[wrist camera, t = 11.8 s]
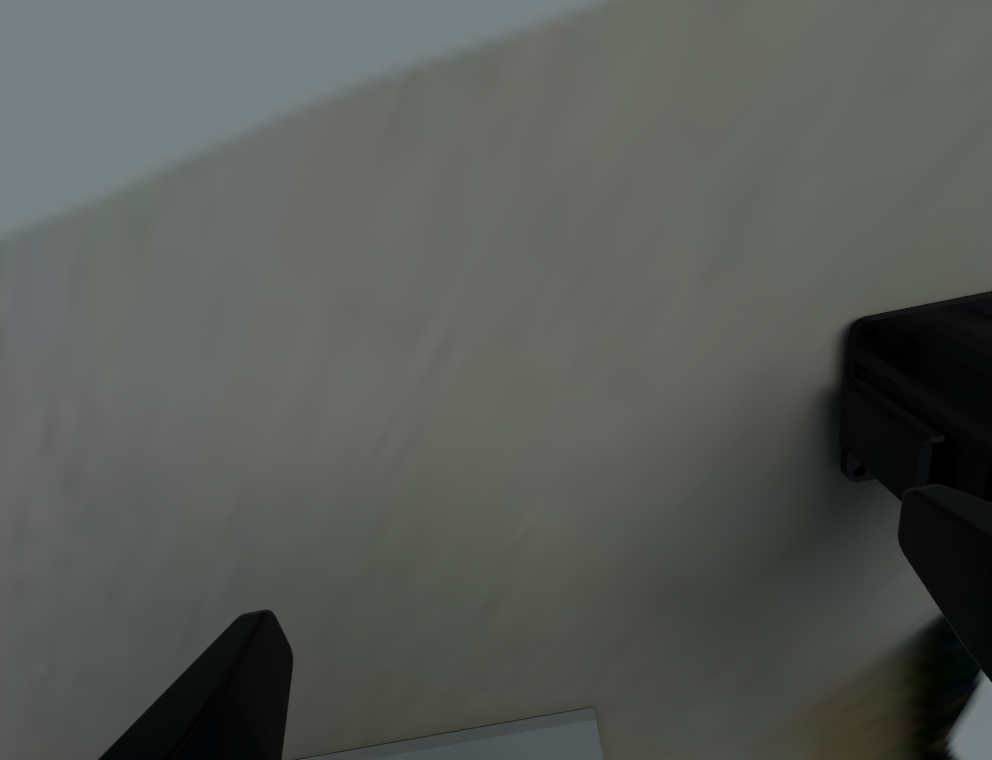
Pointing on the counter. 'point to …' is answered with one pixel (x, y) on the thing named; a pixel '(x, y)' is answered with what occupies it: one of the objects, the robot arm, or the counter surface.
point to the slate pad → (497, 742)
